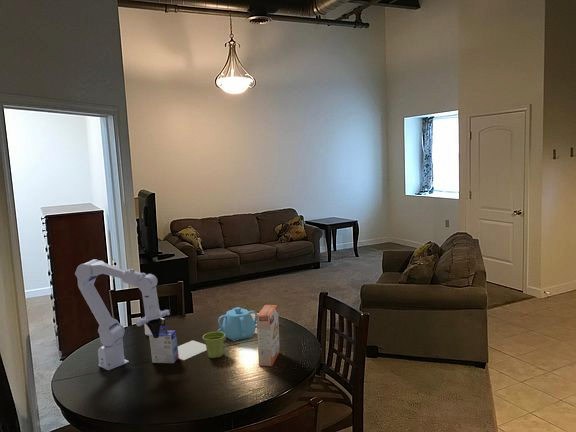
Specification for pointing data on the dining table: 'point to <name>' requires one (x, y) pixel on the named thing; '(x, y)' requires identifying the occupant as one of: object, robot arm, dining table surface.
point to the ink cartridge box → (164, 347)
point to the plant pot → (214, 343)
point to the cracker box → (268, 335)
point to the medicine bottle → (147, 330)
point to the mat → (190, 349)
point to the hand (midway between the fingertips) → (156, 337)
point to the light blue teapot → (238, 324)
